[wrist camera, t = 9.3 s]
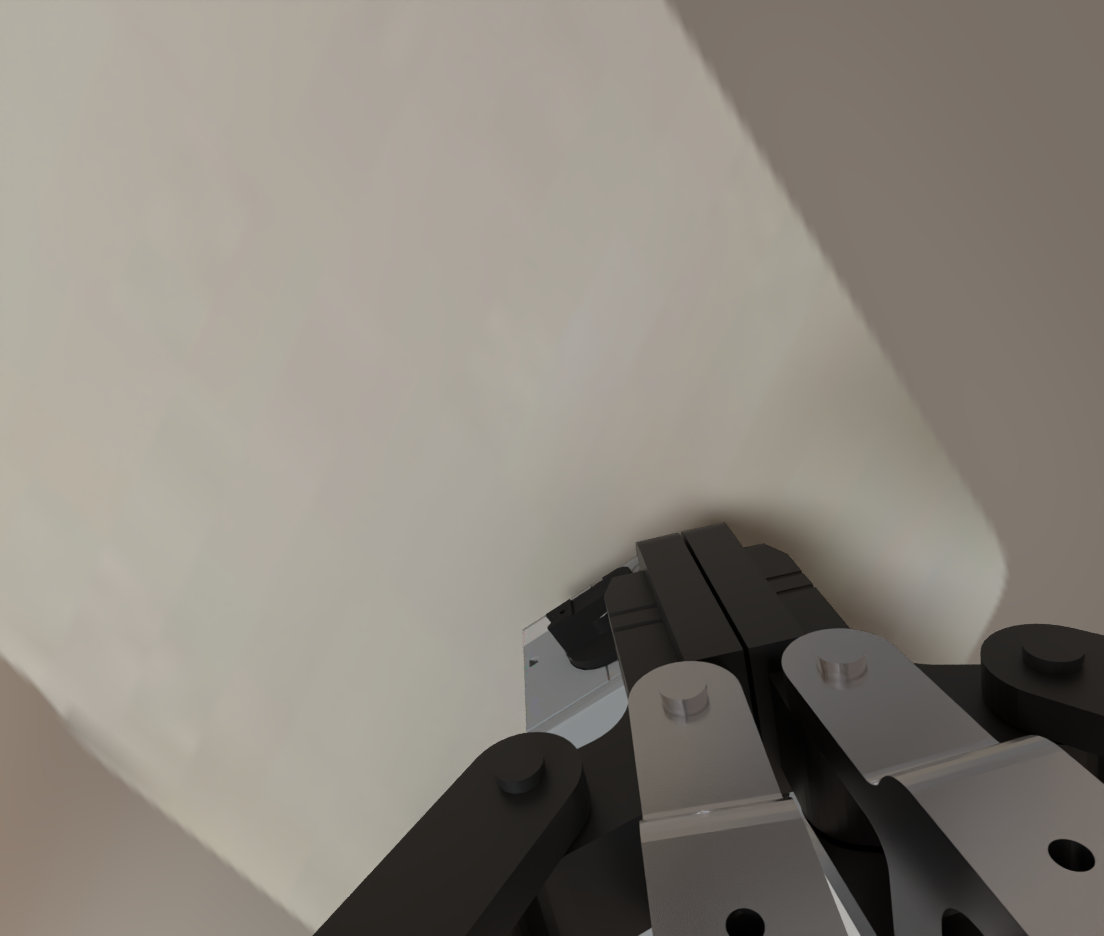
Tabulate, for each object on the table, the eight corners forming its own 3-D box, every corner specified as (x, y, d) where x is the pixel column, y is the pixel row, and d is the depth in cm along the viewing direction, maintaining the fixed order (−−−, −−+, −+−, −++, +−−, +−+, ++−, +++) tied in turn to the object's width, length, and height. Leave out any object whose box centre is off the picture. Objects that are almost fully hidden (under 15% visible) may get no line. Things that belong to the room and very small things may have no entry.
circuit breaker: (633, 473, 34) (725, 656, 19) (781, 686, 38) (948, 965, 23) (500, 561, 35) (495, 796, 20) (659, 759, 39) (747, 1069, 24)
